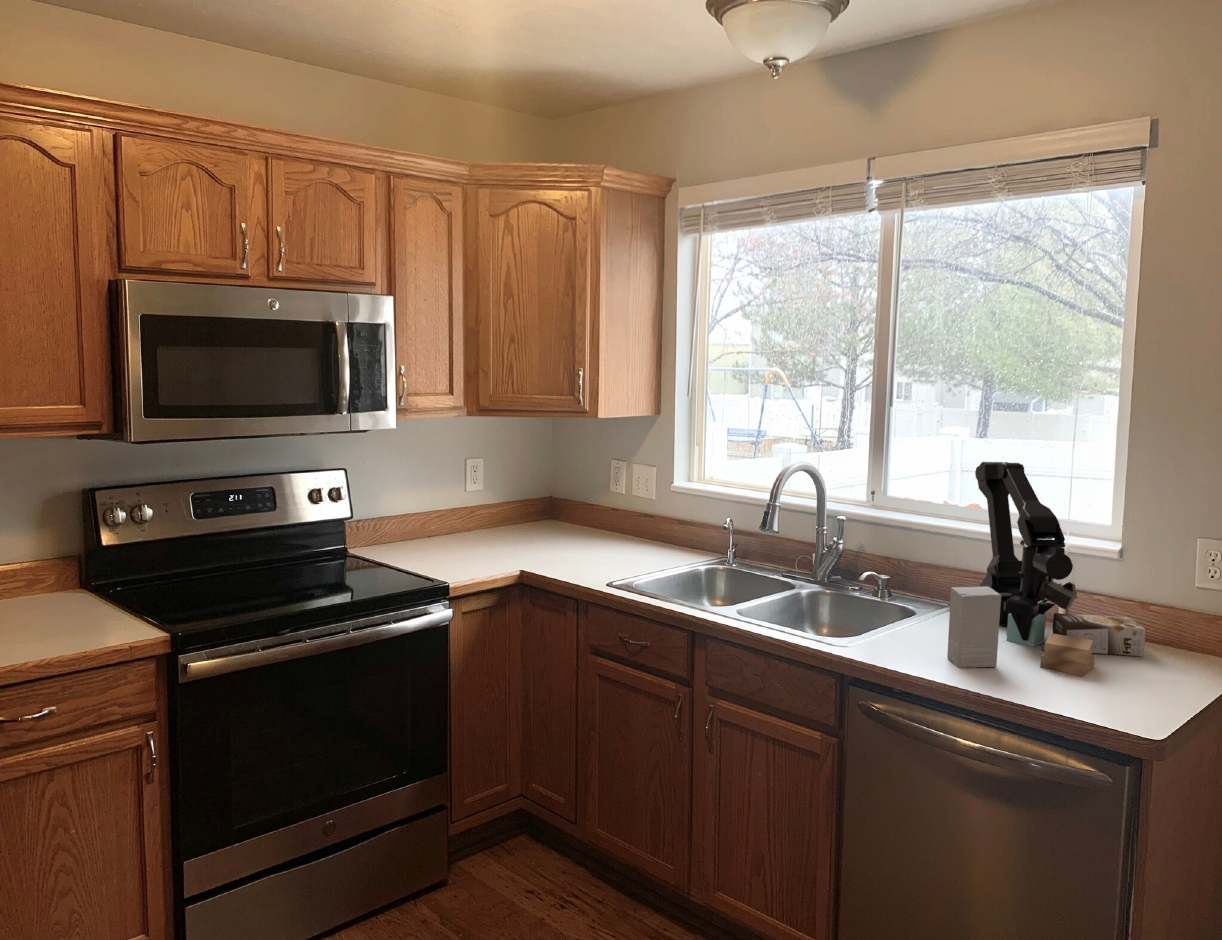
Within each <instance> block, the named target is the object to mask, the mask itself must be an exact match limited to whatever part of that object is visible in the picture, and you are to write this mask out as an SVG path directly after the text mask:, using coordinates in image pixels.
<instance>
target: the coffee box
mask: <svg viewBox="0 0 1222 940" xmlns="http://www.w3.org/2000/svg"><path fill="white" fill-rule="evenodd" d="M1052 634H1058V635H1065V636H1071V637H1077V638H1083V639H1089V640H1093V648H1092V654H1098V655H1099V654H1103V655H1115V656H1117V655H1119V656H1133V657H1135V656H1136V657H1144V653H1145V652H1144V651H1145V639H1146V628H1144V627H1143V626H1142V625H1141V624H1139V623H1138V622H1136V621H1135V620H1134V619H1132V618H1131V617H1129V616H1128V617H1127V616H1115V615H1114V616H1111V615H1093V614H1075V613H1073V614H1072V613H1060V612H1059V613H1057V612H1053V620H1052Z"/></svg>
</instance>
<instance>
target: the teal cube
mask: <svg viewBox="0 0 1222 940" xmlns="http://www.w3.org/2000/svg"><path fill="white" fill-rule="evenodd" d="M1046 620H1047V614H1046V615H1043V614H1039V615H1038V616H1036V617H1035V618H1034V619H1033V621H1032V626H1031V630H1030V634H1029V637H1028V640H1027V641H1025V640H1022V638H1021V635H1020V633H1019V631H1018V628H1017V626H1016V623H1015V621H1014V619H1013V617H1012V615H1011V613H1010V614H1008V625H1007V626H1006V639H1005V641H1007V642H1008V641H1009V642H1012V643H1016V644H1022V645H1024V646H1028V647H1029V646H1030V647H1032V648H1033V647H1036V646H1037V645H1040V644H1042V643H1043V642H1045V633H1046V632H1045V631H1046Z"/></svg>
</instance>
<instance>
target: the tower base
mask: <svg viewBox="0 0 1222 940" xmlns="http://www.w3.org/2000/svg"><path fill="white" fill-rule="evenodd" d="M1039 663H1040V664H1039V668H1040V669H1043V670H1044V669H1045V670H1047V671H1048V670H1049V671H1052V672H1056V673H1061V674H1064V675H1065V674H1066V675H1070V676H1073V677H1078V678H1082V677H1084V676H1085V675H1087V674H1088V673H1090V672H1092V670H1094V669H1095V665H1096V656H1095V655H1093V654H1092V655H1091V657H1090V660H1089V662H1088V664H1087V665H1086V664H1080V663H1075V662H1069V661H1064V660H1058V659H1052V658H1047V657H1044V653H1042V654H1040V661H1039Z"/></svg>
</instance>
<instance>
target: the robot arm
mask: <svg viewBox="0 0 1222 940" xmlns="http://www.w3.org/2000/svg"><path fill="white" fill-rule="evenodd" d="M974 474H975V479H976V480H977V485H978V490H979V491H980V492H981V493H982V494H983V496H984V497H985V499H986V502H987V503H986V504H987V513H988V522H989V523H988V525H989V530H990V539H991V540H990V542H991V551H992V558H991V560H990V562H989V563H988V566H987V567H986V575H985V577H984V578H983V579H982V581H981V583H980V585H979V587H987V586H988V587H990V588H992V589H993V590H994V591H996V592H997V593H999V594H1000V595H1001V604H1000V619H999V626H1002V627H1003V626H1004V627H1007V625H1008V614H1010V613H1011V615H1012V617H1013V619H1014V621H1015V623H1016V626H1017V628H1018V631H1019V633H1020V635H1021V638H1022V640H1025V641H1027V640H1028V637H1029V634H1030V630H1031V626H1032V621H1033V619H1034V618H1035V617H1036V616H1038V615H1039V614H1043V615H1046V616H1047V613H1048V612H1049V611H1050V610H1051V609H1053V608H1054V607H1056V605H1057V606H1058V608H1061V609H1063V610H1067V609H1068V608H1071V606H1072V605H1073V603H1074V601H1075V600H1076V599H1077V597H1078V591H1076V584H1075V583H1073V582H1071V581H1068V582H1066V583H1065V584H1062V583H1057V582H1055V581H1054V580H1057V581H1059V580H1064V579H1066V578H1068V577H1069V576H1070V575H1071V573H1072V571H1073V567H1074V566H1073V565H1074V564H1073V561H1072V559H1071V557H1070V556H1068V555H1067V554H1065V547H1066V544H1065V540H1066V538H1065V535H1064V533H1063V530H1062V528H1061V524H1060V521H1059V519H1058V518H1057V516H1056V515H1055V514H1054V512H1053V511H1052V510H1051V508H1050V507H1047V506H1046V505H1044V504H1042V503H1041V501H1040V500H1039V498H1038V496H1037V495H1036V492H1035V490H1034V489H1033V486H1032V484H1031V482H1030V481H1029V479H1028V477H1027V475H1026V473H1025V467H1024V465H1023V464H1022V463H1020V462H1007V461H982V462H981V463H980V464H979V465H978V466H977V467H976V468H975V472H974ZM1009 496H1010V497H1011V499H1012V502H1013V504H1014V506H1015V508H1016V510H1017V512H1018V514H1019V515H1018V519H1017V521H1016V524H1017V526H1018V531H1019V533H1020V535H1021V538H1022V540H1020V542H1019V544H1020V545H1021V546H1022V558H1021V560H1019V558H1018V557H1017V556H1016V555H1015V548H1014V538H1013V537H1014V536H1013V528H1012V520H1011V519H1012V518H1011V511H1010V502H1009V501H1010V500H1009Z"/></svg>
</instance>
